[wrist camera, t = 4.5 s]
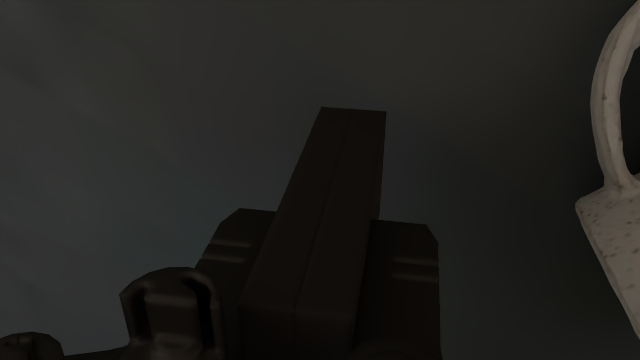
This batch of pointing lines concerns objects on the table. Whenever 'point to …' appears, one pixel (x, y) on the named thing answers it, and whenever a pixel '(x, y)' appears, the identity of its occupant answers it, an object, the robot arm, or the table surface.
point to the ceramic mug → (615, 173)
